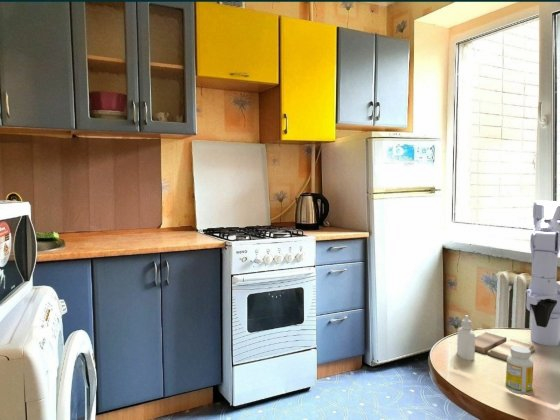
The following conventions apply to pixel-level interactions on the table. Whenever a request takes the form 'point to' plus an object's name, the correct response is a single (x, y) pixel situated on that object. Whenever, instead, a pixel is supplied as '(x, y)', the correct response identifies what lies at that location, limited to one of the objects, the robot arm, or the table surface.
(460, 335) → the eye dropper bottle
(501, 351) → the board
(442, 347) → the table surface
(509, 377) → the supplement bottle
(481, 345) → the floor section
